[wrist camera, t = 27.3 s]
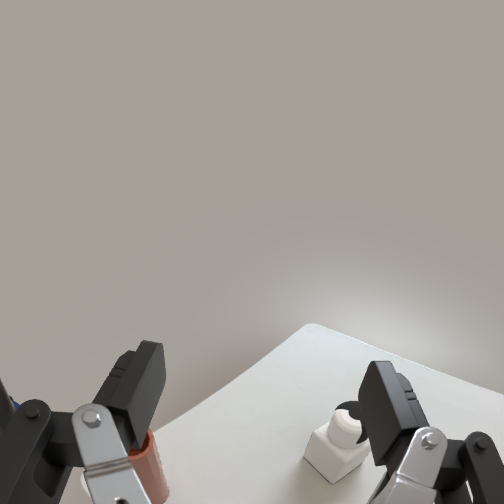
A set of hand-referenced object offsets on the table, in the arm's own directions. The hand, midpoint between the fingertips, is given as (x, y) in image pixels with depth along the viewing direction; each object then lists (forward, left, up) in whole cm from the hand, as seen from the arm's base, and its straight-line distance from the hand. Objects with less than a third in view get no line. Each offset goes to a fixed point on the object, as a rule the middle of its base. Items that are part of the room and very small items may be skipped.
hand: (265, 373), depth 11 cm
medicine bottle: (+21, +6, -34) cm, 41 cm away
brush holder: (-6, +13, -34) cm, 37 cm away
